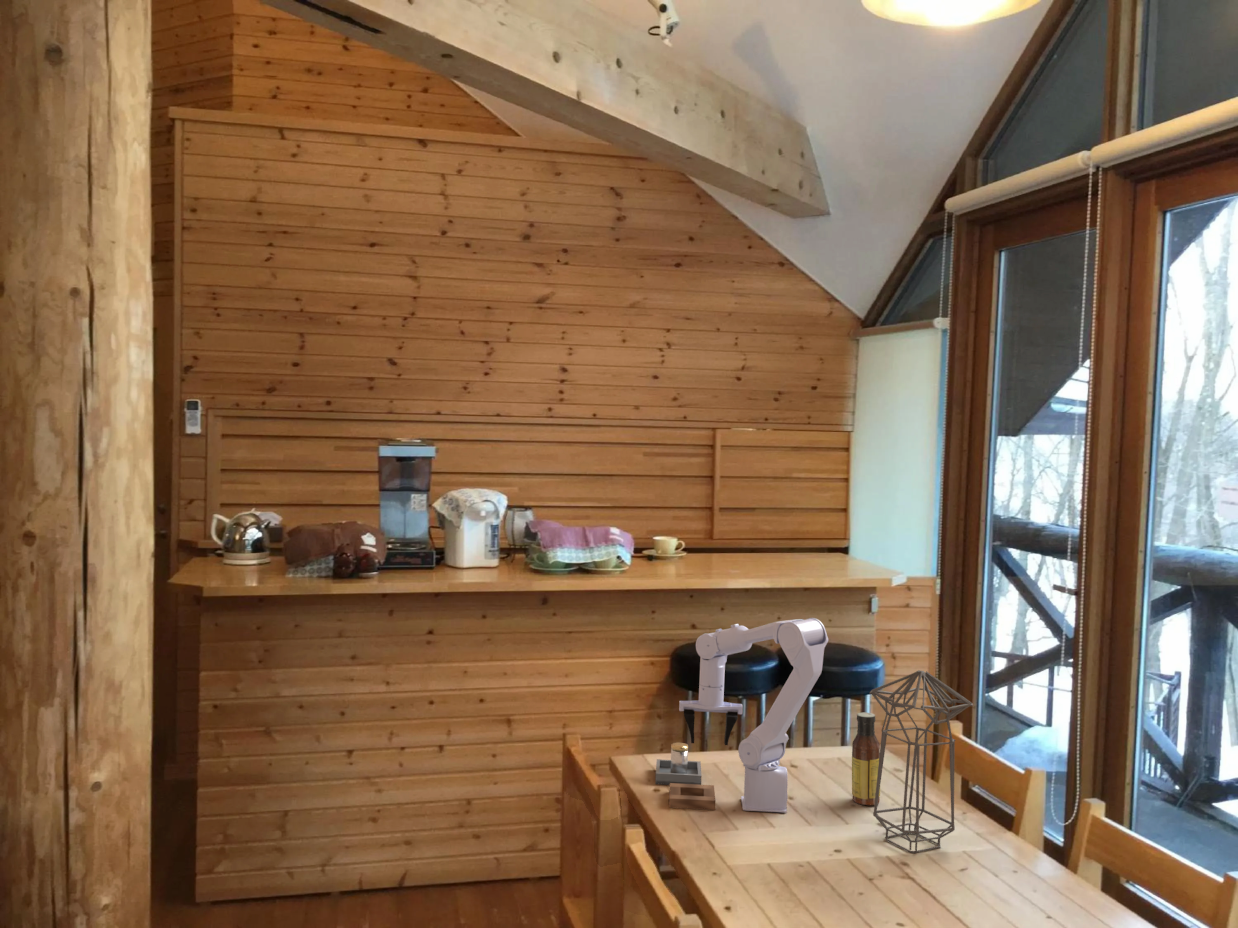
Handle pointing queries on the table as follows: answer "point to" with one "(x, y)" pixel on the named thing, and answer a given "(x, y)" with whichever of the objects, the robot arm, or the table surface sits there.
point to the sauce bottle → (865, 761)
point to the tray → (666, 777)
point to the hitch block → (692, 796)
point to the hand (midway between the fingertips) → (709, 742)
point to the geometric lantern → (917, 750)
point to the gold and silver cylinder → (679, 758)
